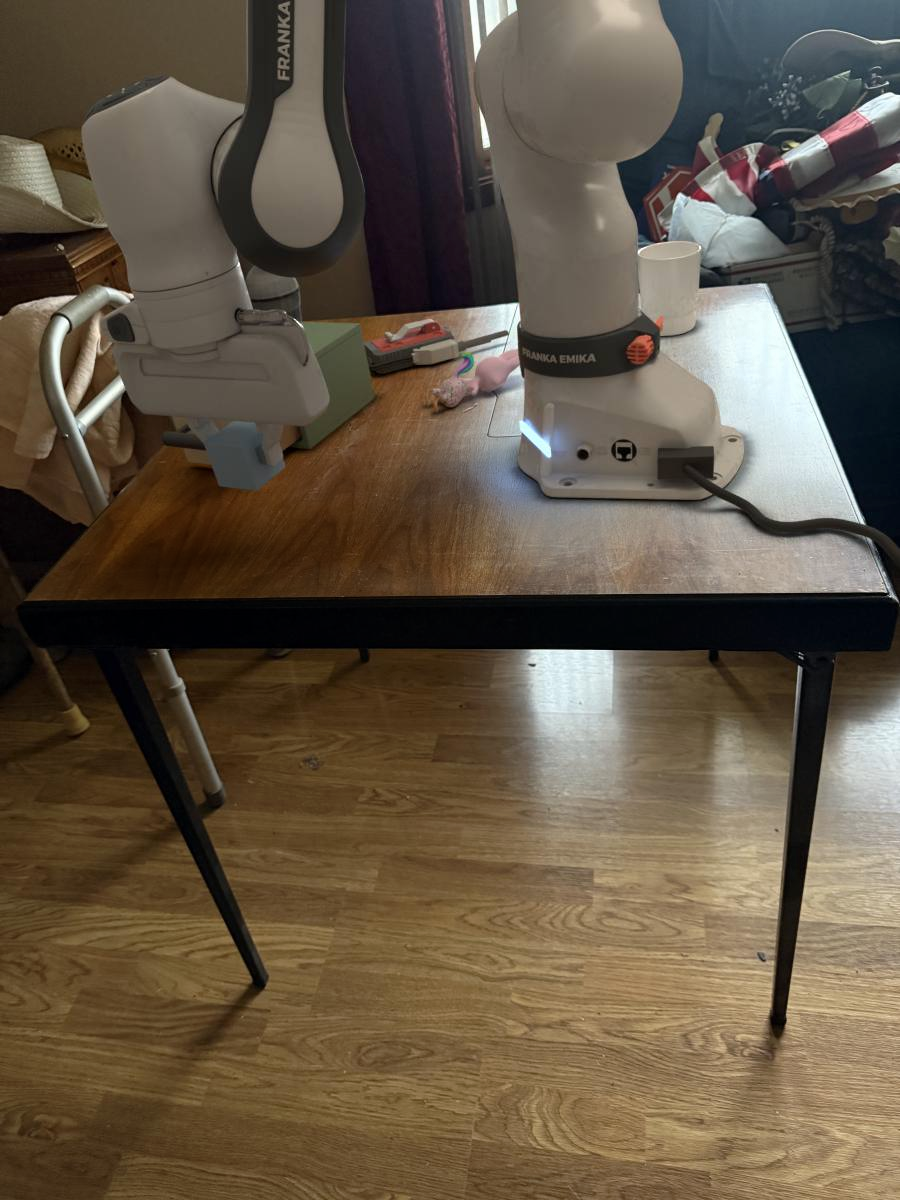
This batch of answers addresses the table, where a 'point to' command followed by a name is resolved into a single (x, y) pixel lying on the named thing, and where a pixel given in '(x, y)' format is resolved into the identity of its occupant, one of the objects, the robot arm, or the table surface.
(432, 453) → the table surface
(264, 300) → the beverage cup
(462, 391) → the pink unicorn toy
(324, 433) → the cabinet
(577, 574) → the table surface
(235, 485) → the block
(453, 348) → the toy chainsaw
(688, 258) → the white cup
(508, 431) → the table surface
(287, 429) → the drawer
